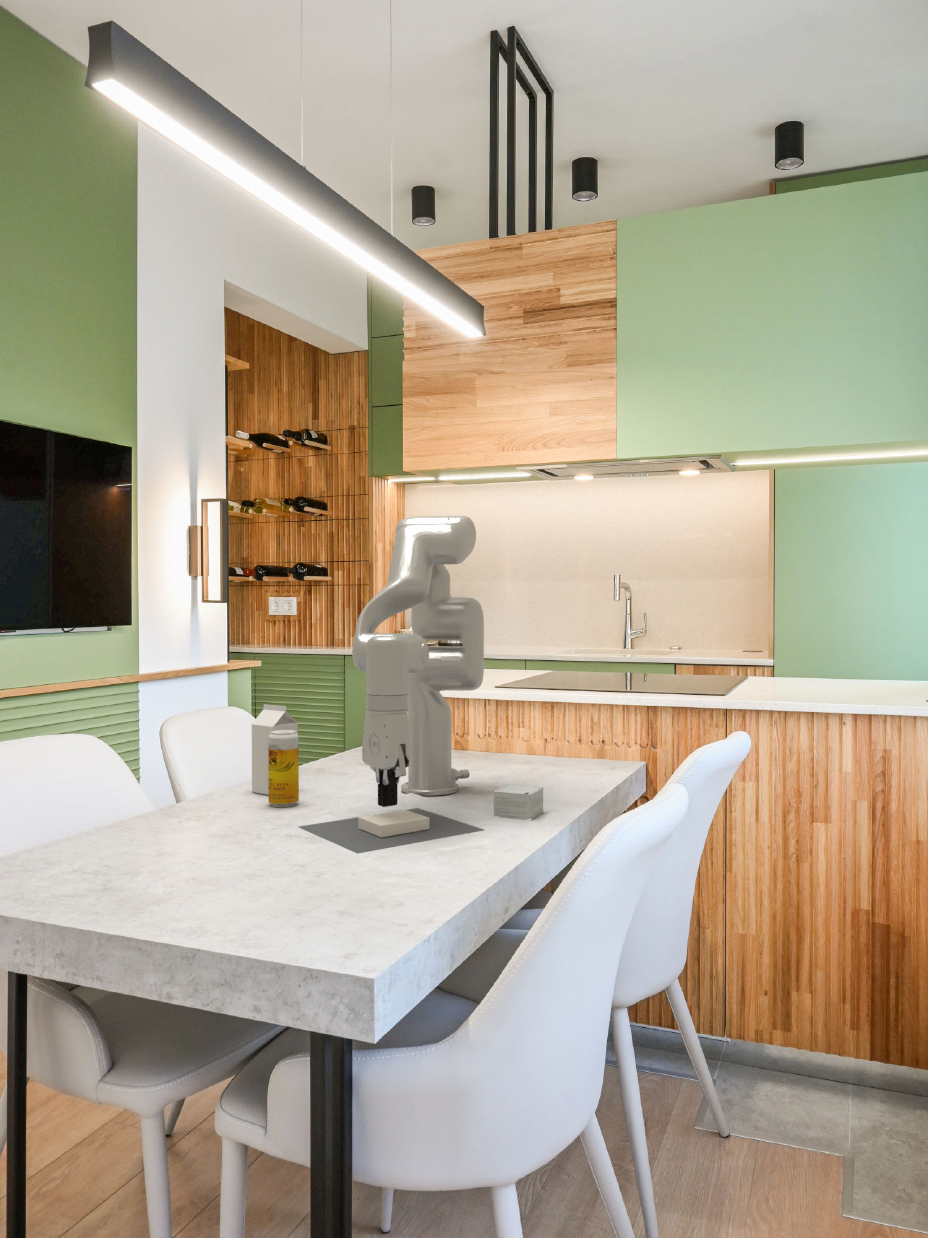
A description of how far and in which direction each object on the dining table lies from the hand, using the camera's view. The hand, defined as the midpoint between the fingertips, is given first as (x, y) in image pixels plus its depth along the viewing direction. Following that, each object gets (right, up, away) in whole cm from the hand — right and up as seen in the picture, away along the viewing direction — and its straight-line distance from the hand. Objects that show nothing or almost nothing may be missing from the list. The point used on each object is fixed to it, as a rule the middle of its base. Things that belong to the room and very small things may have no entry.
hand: (387, 805), depth 165 cm
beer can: (-23, -5, +22) cm, 32 cm away
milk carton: (-28, -4, +34) cm, 44 cm away
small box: (+24, -5, +13) cm, 28 cm away
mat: (+1, -5, -1) cm, 5 cm away
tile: (-1, -3, +2) cm, 3 cm away
